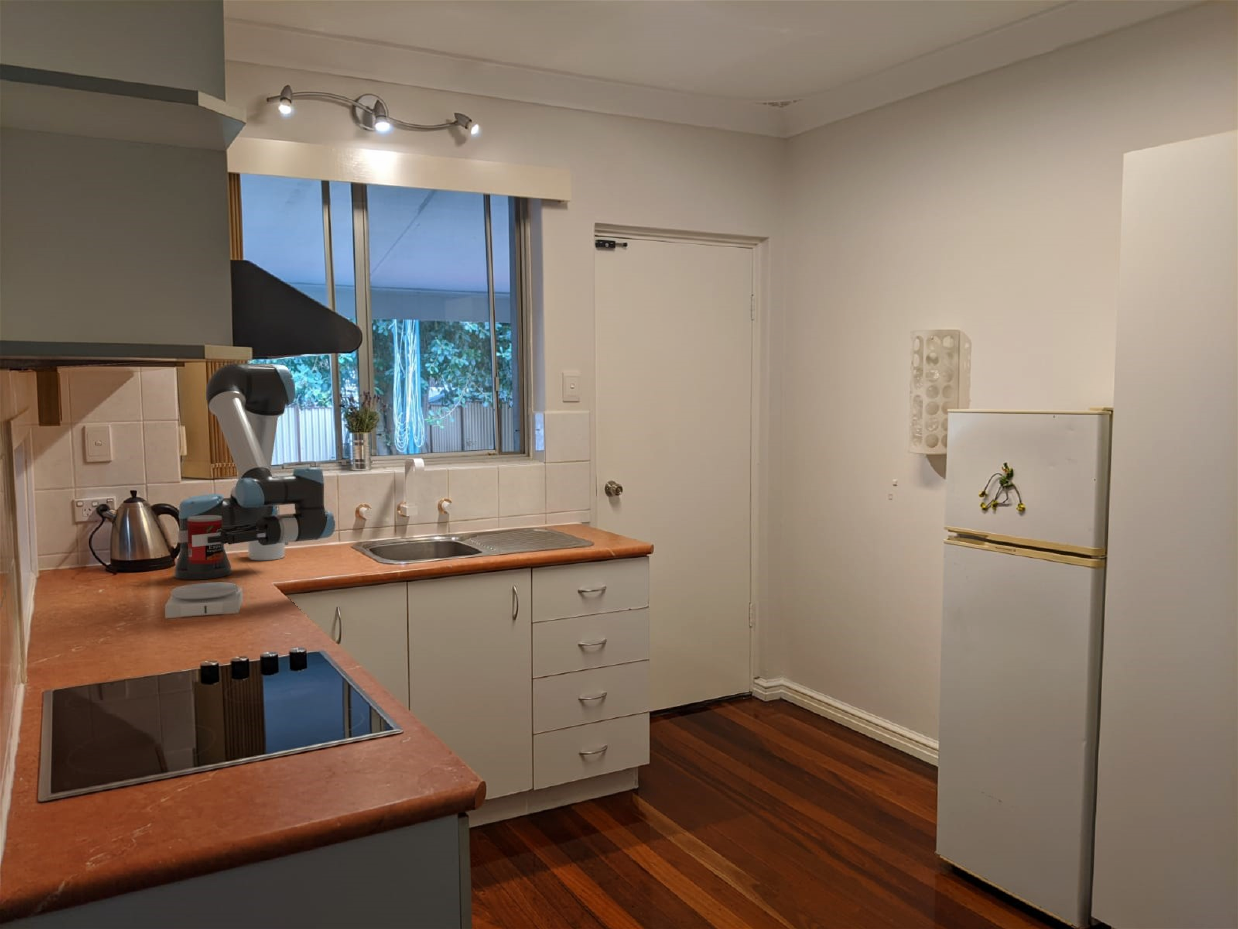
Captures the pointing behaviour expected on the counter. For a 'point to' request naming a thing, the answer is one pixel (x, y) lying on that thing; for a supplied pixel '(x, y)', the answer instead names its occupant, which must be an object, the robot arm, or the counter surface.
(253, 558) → the toilet tissue
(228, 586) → the kitchen scale
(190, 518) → the canned food
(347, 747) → the counter surface
